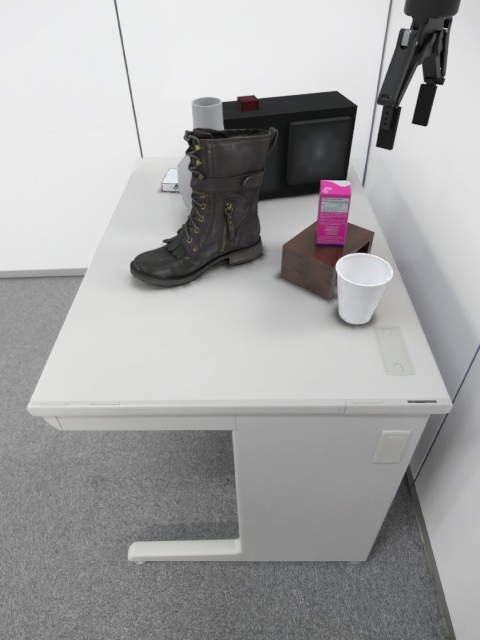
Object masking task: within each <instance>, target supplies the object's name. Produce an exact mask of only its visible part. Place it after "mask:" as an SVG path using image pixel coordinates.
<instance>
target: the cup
mask: <svg viewBox="0 0 480 640" xmlns="http://www.w3.org/2000/svg"><path fill="white" fill-rule="evenodd" d="M336 271H337V283H336V284H337V301H338V302H337V303H338V304H337V305H338V307H337V308H338V315H339V317H340V318H341V319H342V320H343V321H345V322H346V323H347V324H350V325H364V324H366V323H368V322H369V321H370V320H371V318H372V317H373V314H374V313H375V311H376V308H377V306H378V304H379V302H380V300H381V298H382V296H383V294H384V292H385V290H386V288H387V286H388V285H389V282H390V281H391V280H392V278H393V276H394V270H393V267H392V265H391V264H390V263H389V262H388V261H387V260H386V259H383V258H382V257H380V256H377V255H375V254H371V253H370V254H366V253H353V254H348V255H346V256H344V257H342V258H340V259H339V260H338V262H337V263H336Z"/></svg>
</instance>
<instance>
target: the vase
mask: <svg viewBox="0 0 480 640" xmlns="http://www.w3.org/2000/svg"><path fill="white" fill-rule="evenodd" d="M222 102H223V100H222V99H221V98H220V97H219V98H218V97H214V96H203V97H196V98H194V99H192V100H191V112H192V114H191V115H192V130H193V129H194V128H198V127H199V128H210V129H215V130H224V126H223V111H222ZM190 161H191V160H190V157H189V156H187V155H186V154H184V156H183V157H182V159H180V161H179V162H178V164H177V165H176V169H177V172H178V190H179V194H180V197H181V199H182V201H183V203H184V206H185V208H187V210H188V211H189V212H191V209H192V207H193V206H192V199H191V194H192V188H191V187H190V182H191V177H192V172H190V171H189V170H188V165H189V163H190Z"/></svg>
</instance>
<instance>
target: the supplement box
mask: <svg viewBox="0 0 480 640" xmlns="http://www.w3.org/2000/svg"><path fill="white" fill-rule="evenodd" d="M351 200H352V186H351V180H346V181H333V180H321V183H320V192H319V196H318V206H317V218H316V221H317V228H316V233H317V235H316V245H321V246H338V247H344V243H345V236H346V229H347V222H348V221H349V214H350V208H351V207H350V206H351Z"/></svg>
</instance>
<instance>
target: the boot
mask: <svg viewBox="0 0 480 640" xmlns="http://www.w3.org/2000/svg"><path fill="white" fill-rule="evenodd" d="M277 135H278V131H277V130H276V129H275V128H273V127H271V128H270V129H269V131H267V130H264V129H263V130H261V129H256V128H255V129H254V128H253V129H249V128H247V129H228V130H215V129H210V128H199V127H198V128H194V129H193V128H192V130H188V129H185V131H184V135H183V140H184V141H185V142H186V143H187V145H188V147H187V149H186V150H185V152H184V155H187V156H189V157H190V160H191V161H190V163H189V165H188V170H189V171H190V172H192V177H191V182H190V187H191V188H192V194H191V199H192V206H193V207H192V209H191V211H189V212H190V213H189V215H187V220H185V223H183V224H181V227H180V228H179V229H177V231H176V235H174V236H171V237H170V238H165V239H162V243H163V244H164V245H162V246H160V247H157V248H154V249H150V250H146V251H144V252H141V253H139V254H137V255H136V256H135V257H134V258H133V260H132V261H131V262H130V263H129V272H130V274H131V275H132V276H133V278H135V279H137V280H139V281H142V282H144V283H146V284H151V285H157V286H168V287H169V286H171V287H172V286H180V285H185V284H188V283H189V282H192V281H194V280H196V279H197V278H198V277H200V276H202V274H203V273H205V272H206V271H207V270H208V269H210V267H211V266H213V265H215V264H216V263H218V262H221V261H223V260H226V259H228V261H229V266H234V265H239V264H245V263H248V262H251V261H253V260H255V259H257V258H259V257H260V256H261V255H263V250H264V248H263V241H262V236H261V228H262V227H261V221H260V217H259V201H258V192H259V188H260V185H261V184H262V183H263V181H264V178H265V174H266V170H265V164H266V161H267V157H268V155H269V153H270V152H271V150H272V149H273V147H274V145H275V143H276V140H277Z"/></svg>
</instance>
